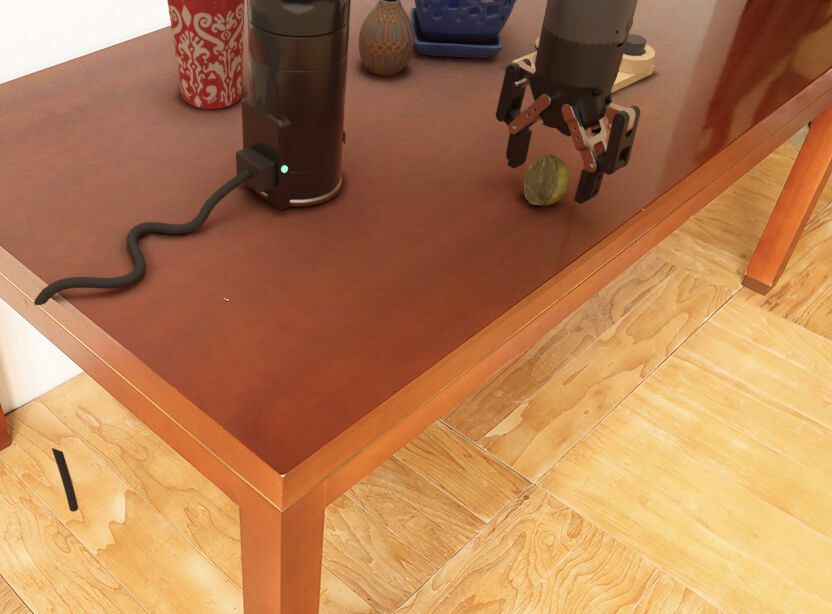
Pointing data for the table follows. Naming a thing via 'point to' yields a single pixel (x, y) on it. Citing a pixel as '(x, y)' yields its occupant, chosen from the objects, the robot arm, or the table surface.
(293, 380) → the table surface
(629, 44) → the tare button
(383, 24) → the vase
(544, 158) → the lime
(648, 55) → the scale
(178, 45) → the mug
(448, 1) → the flower pot
